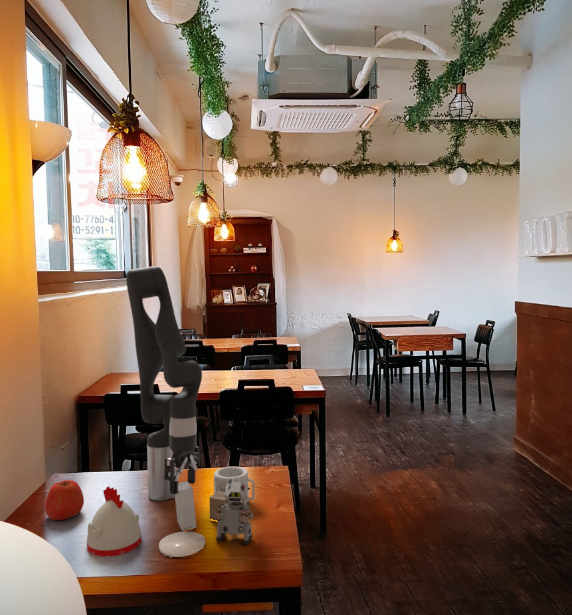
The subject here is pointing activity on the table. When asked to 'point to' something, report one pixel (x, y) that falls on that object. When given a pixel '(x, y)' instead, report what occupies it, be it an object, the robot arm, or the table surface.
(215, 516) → the walnut block
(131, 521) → the kitchen timer
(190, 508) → the skincare box
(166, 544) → the white glossy disc
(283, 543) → the table surface
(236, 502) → the figurine
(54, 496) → the apple
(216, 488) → the mug
